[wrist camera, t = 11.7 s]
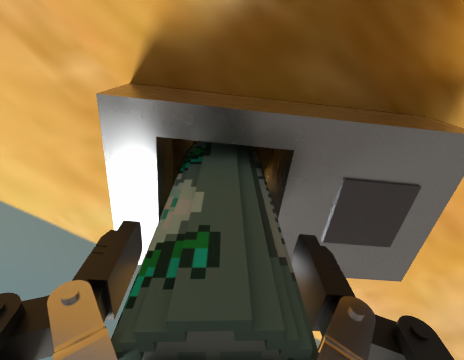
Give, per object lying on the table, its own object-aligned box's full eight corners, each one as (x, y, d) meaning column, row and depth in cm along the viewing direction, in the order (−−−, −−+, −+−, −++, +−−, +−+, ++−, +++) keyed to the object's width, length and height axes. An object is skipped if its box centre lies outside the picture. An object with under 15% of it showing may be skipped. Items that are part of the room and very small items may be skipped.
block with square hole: (129, 83, 17) (94, 94, 13) (425, 116, 19) (490, 137, 14) (139, 222, 23) (117, 265, 18) (368, 239, 24) (402, 283, 20)
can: (182, 134, 19) (77, 322, 6) (260, 134, 19) (337, 318, 6) (187, 201, 22) (126, 433, 9) (256, 201, 22) (302, 430, 9)
